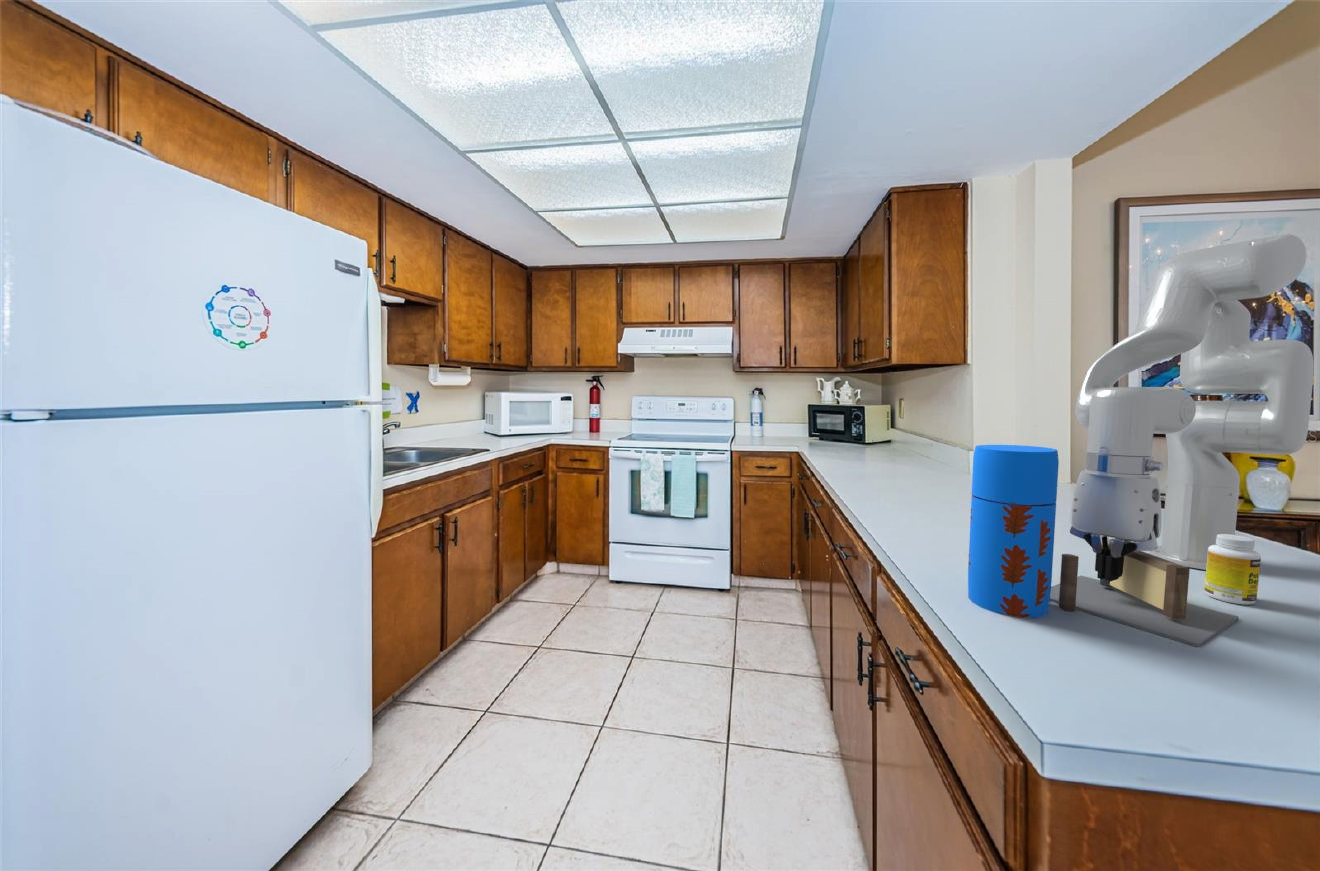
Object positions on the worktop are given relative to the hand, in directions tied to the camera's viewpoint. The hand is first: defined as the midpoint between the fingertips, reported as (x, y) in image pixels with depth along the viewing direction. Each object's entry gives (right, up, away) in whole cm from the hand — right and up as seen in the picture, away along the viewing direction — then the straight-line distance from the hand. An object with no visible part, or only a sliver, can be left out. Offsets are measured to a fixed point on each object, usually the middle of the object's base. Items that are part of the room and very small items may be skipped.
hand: (1108, 578), depth 79 cm
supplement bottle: (+20, -4, +1) cm, 21 cm away
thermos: (-17, -4, 0) cm, 17 cm away
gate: (+3, -3, -2) cm, 4 cm away
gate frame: (+1, -4, -2) cm, 5 cm away
